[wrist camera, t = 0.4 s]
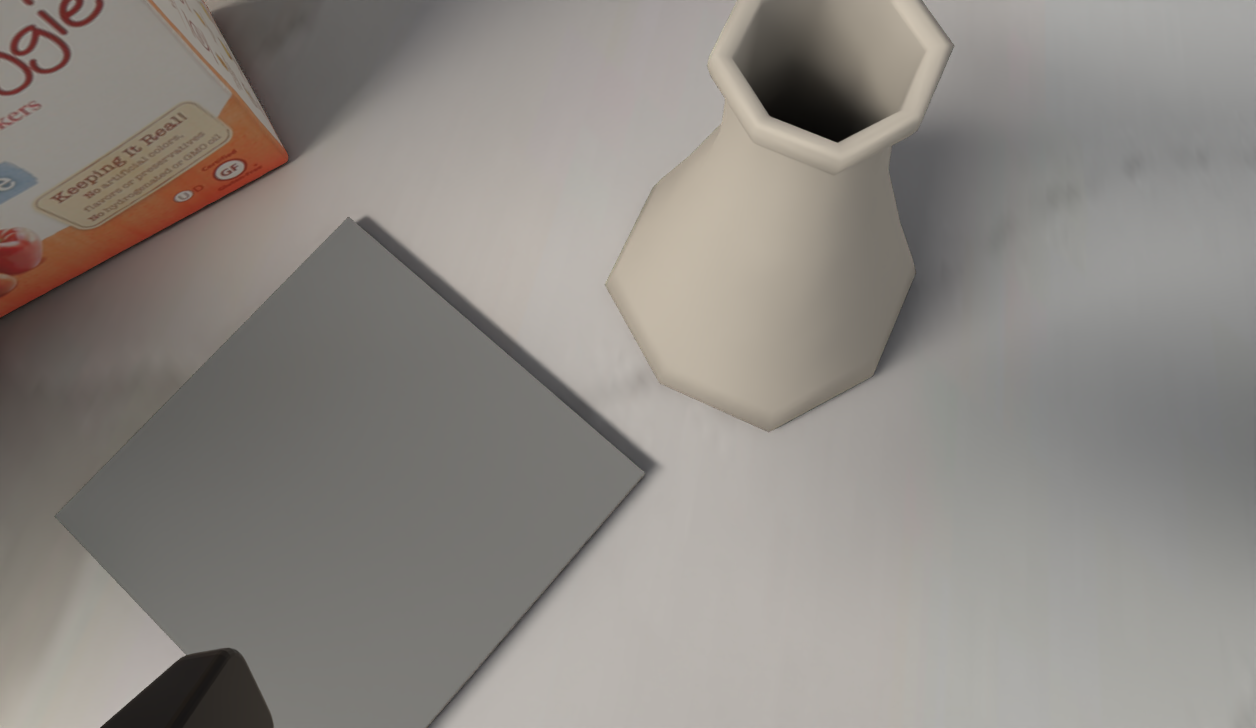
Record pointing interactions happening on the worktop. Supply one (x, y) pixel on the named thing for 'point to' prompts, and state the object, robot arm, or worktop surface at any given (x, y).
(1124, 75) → the worktop surface
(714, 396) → the flask
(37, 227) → the cracker box
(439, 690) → the slate coaster
